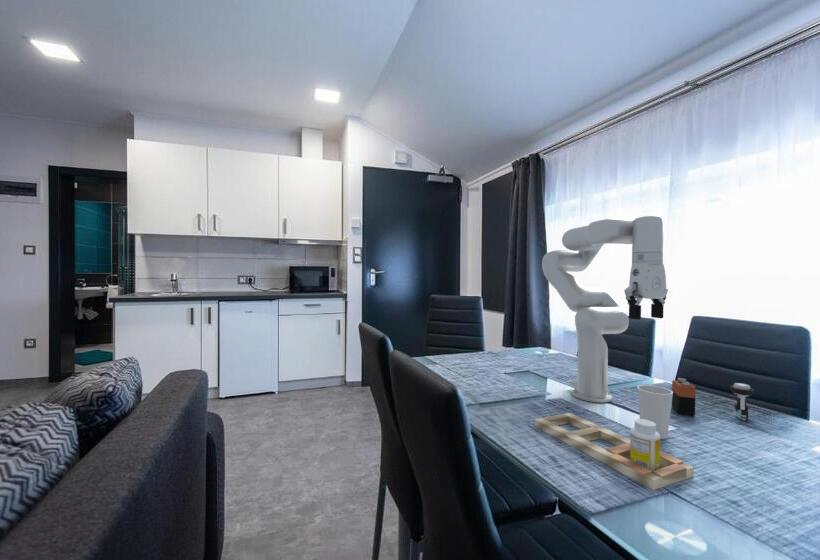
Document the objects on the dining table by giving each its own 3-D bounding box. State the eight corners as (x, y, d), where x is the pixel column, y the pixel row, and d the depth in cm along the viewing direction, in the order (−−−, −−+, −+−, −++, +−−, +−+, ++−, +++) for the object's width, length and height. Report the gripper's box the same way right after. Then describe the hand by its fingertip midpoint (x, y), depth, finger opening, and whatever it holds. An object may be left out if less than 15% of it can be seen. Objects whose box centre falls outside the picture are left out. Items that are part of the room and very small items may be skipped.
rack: (534, 426, 102) (535, 418, 102) (569, 419, 108) (569, 411, 108) (653, 490, 72) (653, 478, 72) (693, 476, 77) (693, 465, 77)
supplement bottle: (651, 463, 83) (652, 418, 83) (665, 476, 77) (666, 428, 77) (625, 461, 84) (626, 416, 83) (636, 474, 78) (637, 426, 78)
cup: (661, 442, 93) (662, 396, 93) (630, 430, 100) (630, 387, 100) (678, 436, 97) (679, 391, 96) (647, 425, 104) (648, 383, 103)
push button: (756, 424, 106) (757, 389, 105) (732, 419, 109) (732, 386, 108) (751, 416, 111) (751, 384, 111) (728, 413, 114) (728, 381, 114)
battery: (687, 409, 117) (688, 378, 117) (695, 416, 111) (696, 384, 111) (671, 407, 119) (671, 376, 118) (678, 414, 112) (679, 382, 112)
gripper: (639, 257, 98) (638, 321, 98) (679, 259, 105) (678, 318, 105) (614, 258, 105) (613, 318, 105) (653, 260, 112) (652, 316, 112)
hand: (646, 318), depth 105 cm, fingers open, 9 cm apart
